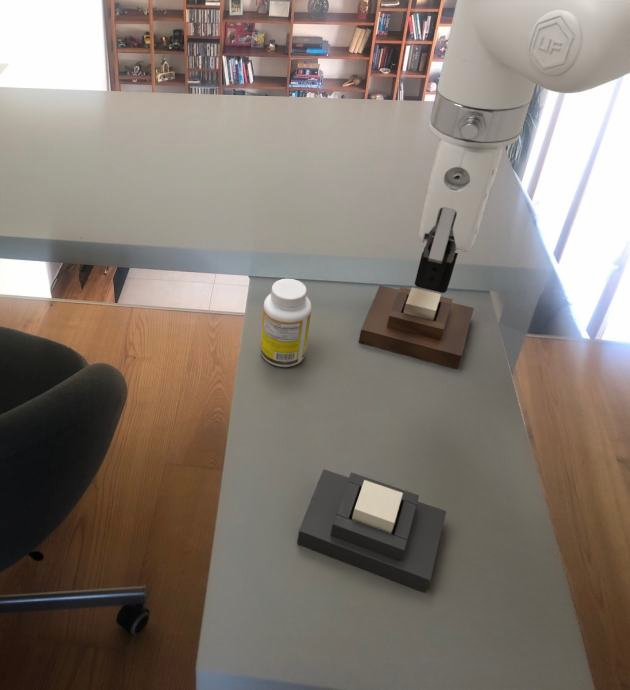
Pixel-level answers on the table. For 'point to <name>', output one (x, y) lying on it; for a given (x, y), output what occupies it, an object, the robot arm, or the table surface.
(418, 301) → the far key
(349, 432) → the table surface
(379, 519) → the near key
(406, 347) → the brown stepped switch base
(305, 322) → the supplement bottle
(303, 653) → the table surface
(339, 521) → the stepped wall plate
